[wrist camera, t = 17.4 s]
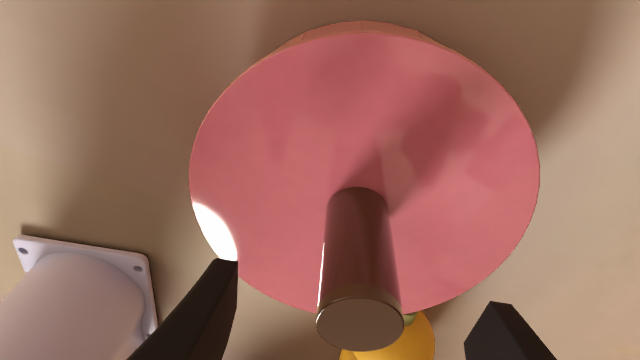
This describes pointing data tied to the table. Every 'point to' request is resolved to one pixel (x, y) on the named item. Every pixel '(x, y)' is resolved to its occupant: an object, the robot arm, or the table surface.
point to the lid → (364, 179)
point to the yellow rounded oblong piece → (403, 343)
